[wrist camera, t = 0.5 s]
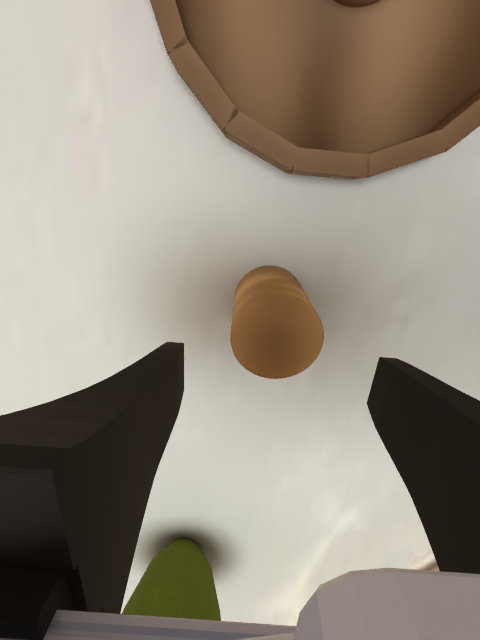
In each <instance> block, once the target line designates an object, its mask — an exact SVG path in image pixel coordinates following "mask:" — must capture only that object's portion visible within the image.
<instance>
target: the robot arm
mask: <svg viewBox="0 0 480 640" xmlns="http://www.w3.org/2000/svg"><path fill="white" fill-rule="evenodd" d="M183 392H184V343H174V342H166V343H165V344H163V345H161V346H160V347H158V348H157V349H155V350H154V351H152V352H151V353H149V354H148V355H146V356H145V357H143V358H142V359H140V360H138V361H137V362H135V363H134V364H132V365H130V366H128V367H127V368H125V369H123V370H121V371H120V372H118V373H116V374H115V375H113V376H111V377H109V378H107V379H105V380H103V381H101V382H99V383H96V384H94V385H92V386H90V387H88V388H85V389H83V390H81V391H78V392H75V393H72V394H70V395H67V396H64V397H62V398H59V399H56V400H53V401H51V402H48V403H44V404H41V405H38V406H35V407H31V408H28V409H24V410H21V411H17V412H13V413H9V414H5V415H1V416H0V640H480V401H479V400H477V399H475V398H473V397H471V396H469V395H467V394H465V393H463V392H461V391H459V390H457V389H455V388H453V387H452V386H450V385H448V384H446V383H444V382H442V381H440V380H438V379H437V378H435V377H433V376H431V375H429V374H427V373H426V372H424V371H422V370H420V369H418V368H416V367H414V366H412V365H410V364H408V363H406V362H404V361H402V360H399V359H396V358H383V357H379V361H378V364H377V368H376V372H375V375H374V379H373V383H372V386H371V390H370V394H369V397H368V401H367V405H368V408H369V411H370V414H371V417H372V420H373V422H374V425H375V428H376V430H377V432H378V434H379V436H380V438H381V439H382V441H383V443H384V445H385V447H386V449H387V451H388V453H389V455H390V457H391V458H392V460H393V462H394V464H395V466H396V468H397V470H398V472H399V473H400V475H401V477H402V479H403V481H404V483H405V485H406V487H407V489H408V491H409V493H410V495H411V497H412V500H413V502H414V505H415V507H416V510H417V512H418V514H419V517H420V519H421V522H422V524H423V527H424V529H425V532H426V535H427V537H428V540H429V543H430V545H431V548H432V551H433V553H434V556H435V559H436V561H437V564H438V567H439V570H440V571H426V570H412V569H397V568H381V569H370V570H359V571H350V572H348V573H345V574H343V575H341V576H339V577H337V578H334V579H332V580H330V581H328V582H326V583H323V584H321V585H320V586H319V587H318V589H317V590H316V591H315V593H314V594H313V595H312V596H311V598H310V599H309V600H308V602H307V603H306V604H305V606H304V607H303V609H302V610H301V612H300V614H299V618H298V622H297V626H284V625H270V624H256V623H241V622H227V621H212V620H198V619H184V618H169V617H155V616H141V615H126V614H120V612H121V608H122V603H123V599H124V595H125V590H126V586H127V582H128V577H129V573H130V569H131V565H132V561H133V557H134V553H135V549H136V545H137V541H138V537H139V533H140V529H141V525H142V521H143V517H144V514H145V510H146V506H147V502H148V499H149V495H150V491H151V488H152V484H153V480H154V477H155V474H156V471H157V468H158V465H159V463H160V460H161V458H162V455H163V452H164V450H165V447H166V445H167V442H168V440H169V437H170V434H171V432H172V429H173V427H174V424H175V421H176V419H177V416H178V413H179V409H180V405H181V401H182V397H183Z"/></svg>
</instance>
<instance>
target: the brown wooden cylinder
mask: <svg viewBox="0 0 480 640" xmlns="http://www.w3.org/2000/svg"><path fill="white" fill-rule="evenodd" d="M323 339H324V331H323V326H322V323H321V320H320V318H319V316H318V314H317V313H316V311H315V309H314V308H313V306H312V304H311V302H310V301H309V299H308V297H307V296H306V294H305V292H304V291H303V289H302V287H301V286H300V284H299V282H298V281H297V279H296V278H295V277H294V276H293V275H292V274H291V273H290V272H288V271H287V270H285V269H283V268H280V267H276V266H263V267H259V268H256V269H254V270H252V271H250V272H249V273H248V274H246V275H245V276H244V277H243V279H242V280H241V281H240V283H239V285H238V287H237V290H236V294H235V302H234V310H233V319H232V328H231V346H232V350H233V353H234V355H235V357H236V358H237V360H238V361H239V362H240V364H241V365H242V366H243V367H244V368H246V369H247V370H248V371H250V372H252V373H253V374H255V375H258V376H261V377H265V378H271V379H279V378H286V377H290V376H293V375H296V374H298V373H300V372H302V371H303V370H305V369H306V368H307V367H309V366H310V365H311V364H312V363H313V362H314V360H315V359H316V358H317V356H318V355H319V353H320V350H321V348H322V345H323Z"/></svg>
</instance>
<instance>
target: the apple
mask: <svg viewBox="0 0 480 640" xmlns="http://www.w3.org/2000/svg"><path fill="white" fill-rule="evenodd" d="M122 614H126V615H141V616H155V617H169V618H184V619H198V620H212V621H221V617H220V609H219V604H218V599H217V594H216V589H215V584H214V579H213V574H212V570H211V566H210V565H209V563H208V561H207V559H206V557H205V556H204V554H203V552H202V550H201V548H200V547H199V545H198V544H197V543H195V542H194V541H192V540H189V539H185V538H178V539H176V540H174V541H173V542H172V543H171V544H170V545H168V546H167V547H166V548H165V549H164V550H163V551H161V552H160V553H159V554H158V555H157V556H155V557H154V558H153V559H152V561H151V563H150V565H149V566H148V568H147V570H146V572H145V573H144V575H143V577H142V578H141V580H140V582H139V584H138V585H137V587H136V589H135V591H134V592H133V594H132V596H131V598H130V599H129V601H128V603H127V604H126V606H125V608H124V610H123V613H122Z"/></svg>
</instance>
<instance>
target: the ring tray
mask: <svg viewBox="0 0 480 640" xmlns="http://www.w3.org/2000/svg"><path fill="white" fill-rule="evenodd" d="M150 2H151V5H152V8H153V11H154V14H155V17H156V20H157V23H158V26H159V29H160V32H161V36H162V39H163V42H164V45H165V48H166V51H167V54H168V55H169V57H170V59H171V61H172V63H173V64H174V66H175V68H176V70H177V71H178V73H179V75H180V76H181V77H182V79H183V80H184V81H185V83H186V84H187V85H188V87H189V88H190V89H191V91H192V92H193V93H194V95H195V96H196V97H197V99H198V100H199V101H200V103H201V104H202V105H203V107H204V108H205V109H206V111H207V112H208V113H209V115H210V116H211V117H212V119H213V120H214V121H215V123H216V124H217V125H218V127H219V128H220V129H221V131H222V132H223V133H224V135H225V136H226V137H227V138H228V139H230V140H231V141H233V142H235V143H237V144H238V145H240V146H242V147H243V148H245V149H247V150H248V151H250V152H252V153H254V154H255V155H257V156H259V157H260V158H262V159H264V160H265V161H267V162H269V163H271V164H272V165H274V166H276V167H277V168H279V169H281V170H282V171H284V172H286V173H287V172H288V173H291V174H302V175H312V176H323V177H333V178H344V179H359V178H366V177H370V176H373V175H377V174H380V173H383V172H386V171H389V170H392V169H395V168H398V167H401V166H404V165H407V164H410V163H413V162H416V161H419V160H422V159H425V158H428V157H431V156H434V155H437V154H440V153H443V152H446V151H448V150H449V149H451V148H452V147H453V146H454V145H456V144H457V143H458V142H460V141H461V140H462V139H463V138H465V137H466V136H467V135H468V134H470V133H471V132H472V131H474V130H475V129H476V128H477V127H479V126H480V0H150Z"/></svg>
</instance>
